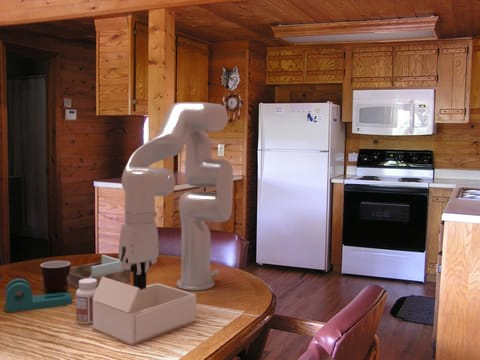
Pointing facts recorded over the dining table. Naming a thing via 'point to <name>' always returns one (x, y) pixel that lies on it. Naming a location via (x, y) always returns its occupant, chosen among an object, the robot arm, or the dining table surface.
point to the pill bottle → (85, 300)
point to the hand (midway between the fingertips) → (139, 288)
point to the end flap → (116, 294)
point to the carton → (146, 314)
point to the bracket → (31, 297)
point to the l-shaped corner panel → (106, 267)
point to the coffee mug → (55, 276)
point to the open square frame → (85, 270)
